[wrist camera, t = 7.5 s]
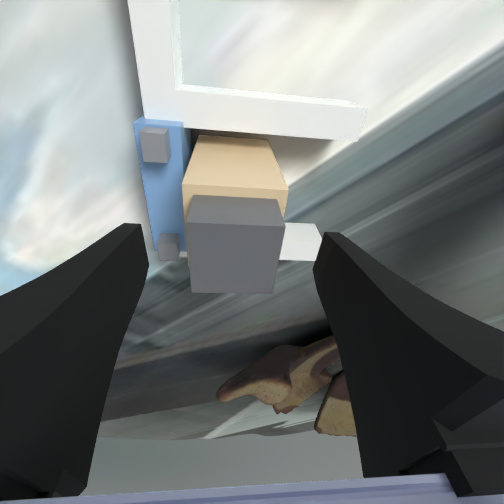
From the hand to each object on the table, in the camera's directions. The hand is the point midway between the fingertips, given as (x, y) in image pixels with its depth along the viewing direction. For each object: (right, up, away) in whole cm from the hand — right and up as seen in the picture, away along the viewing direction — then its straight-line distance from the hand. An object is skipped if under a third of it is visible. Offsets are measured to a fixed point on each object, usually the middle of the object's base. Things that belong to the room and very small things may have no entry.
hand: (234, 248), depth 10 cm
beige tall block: (-1, +5, +6) cm, 8 cm away
